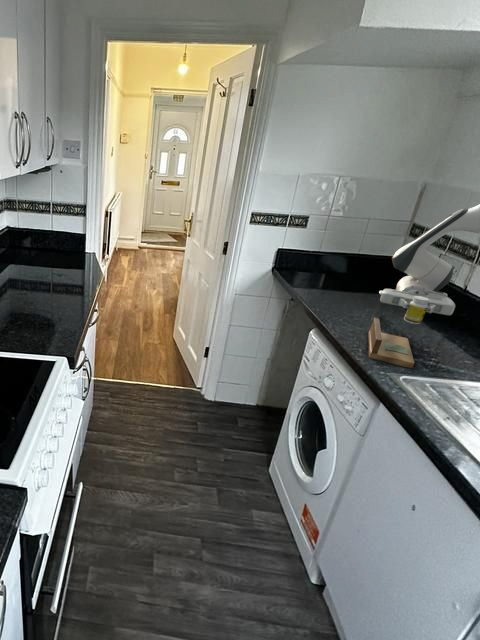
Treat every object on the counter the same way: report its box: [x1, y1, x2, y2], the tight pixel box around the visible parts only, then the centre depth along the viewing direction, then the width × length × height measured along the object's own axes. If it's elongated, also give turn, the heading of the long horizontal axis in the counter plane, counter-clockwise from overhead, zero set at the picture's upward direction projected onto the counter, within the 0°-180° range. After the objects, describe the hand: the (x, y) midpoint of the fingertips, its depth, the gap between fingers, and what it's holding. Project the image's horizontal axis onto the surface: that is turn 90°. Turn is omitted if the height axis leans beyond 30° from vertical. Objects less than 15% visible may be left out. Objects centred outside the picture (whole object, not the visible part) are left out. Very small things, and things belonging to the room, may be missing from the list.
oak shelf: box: [367, 317, 415, 369], centre depth 142 cm, size 12×22×7 cm, turn 150°
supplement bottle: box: [403, 296, 429, 325], centre depth 135 cm, size 5×5×8 cm
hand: (418, 308), depth 134 cm, fingers closed on supplement bottle, 5 cm apart
